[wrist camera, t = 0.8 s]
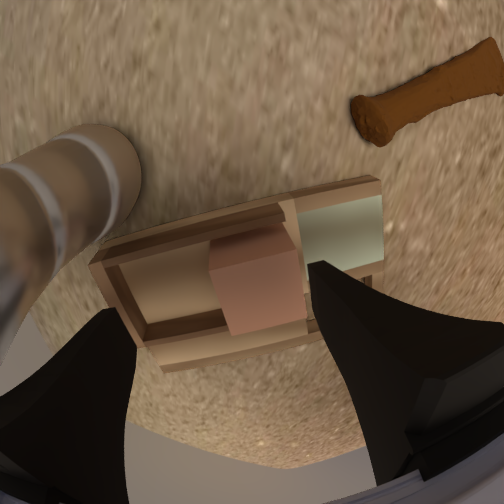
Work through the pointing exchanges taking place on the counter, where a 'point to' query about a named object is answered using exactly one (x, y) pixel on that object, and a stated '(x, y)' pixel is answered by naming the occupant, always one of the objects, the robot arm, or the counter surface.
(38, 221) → the plastic bottle
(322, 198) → the board
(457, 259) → the counter surface
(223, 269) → the block
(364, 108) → the primitive tool
